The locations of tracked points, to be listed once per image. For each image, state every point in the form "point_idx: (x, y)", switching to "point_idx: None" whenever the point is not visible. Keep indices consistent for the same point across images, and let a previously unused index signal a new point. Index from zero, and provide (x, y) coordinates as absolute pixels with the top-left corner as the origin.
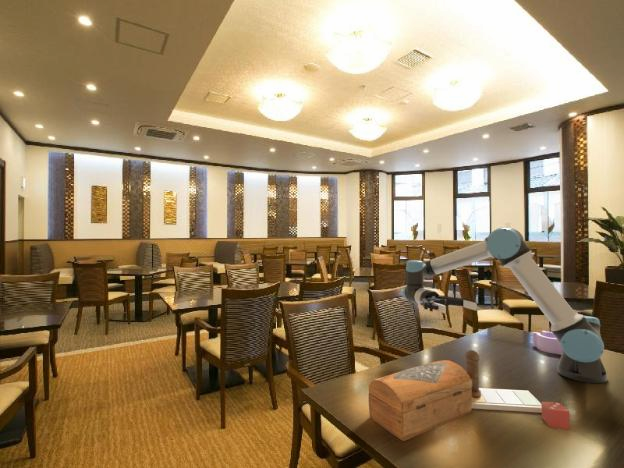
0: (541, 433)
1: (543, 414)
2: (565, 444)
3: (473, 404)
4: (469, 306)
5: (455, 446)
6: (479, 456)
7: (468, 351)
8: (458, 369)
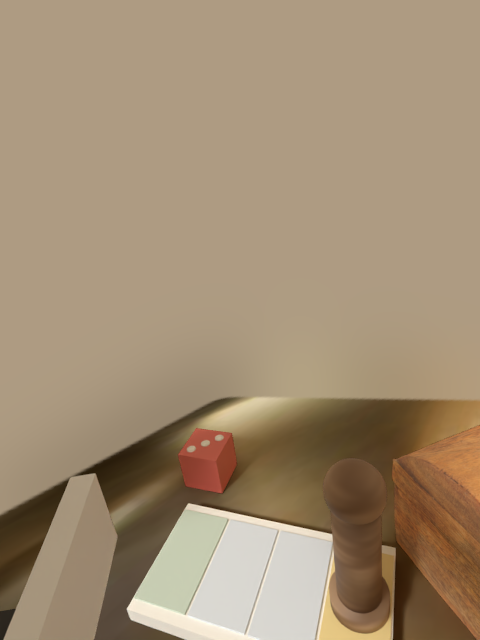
0: (273, 450)
1: (224, 475)
2: (257, 425)
3: (382, 546)
4: (83, 618)
5: None
6: (432, 408)
7: (371, 473)
8: (441, 450)
